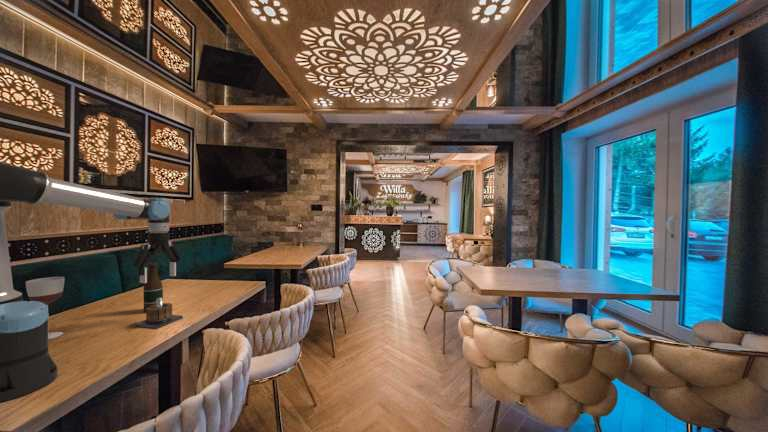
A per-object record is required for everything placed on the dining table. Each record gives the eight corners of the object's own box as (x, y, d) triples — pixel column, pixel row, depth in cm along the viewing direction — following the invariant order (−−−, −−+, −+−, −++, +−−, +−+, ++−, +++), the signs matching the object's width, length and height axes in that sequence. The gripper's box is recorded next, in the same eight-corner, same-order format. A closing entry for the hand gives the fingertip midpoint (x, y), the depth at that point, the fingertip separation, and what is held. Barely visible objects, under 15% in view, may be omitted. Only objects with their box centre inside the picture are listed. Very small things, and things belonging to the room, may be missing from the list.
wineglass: (23, 339, 111) (22, 280, 110) (61, 329, 120) (60, 275, 119) (30, 344, 106) (29, 283, 106) (69, 334, 115) (68, 278, 115)
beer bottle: (146, 308, 145) (145, 262, 145) (165, 306, 148) (164, 261, 148) (140, 313, 138) (140, 265, 138) (160, 311, 141) (160, 263, 141)
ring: (158, 322, 123) (158, 310, 122) (141, 320, 124) (141, 309, 124) (177, 314, 131) (176, 303, 131) (161, 313, 133) (160, 302, 133)
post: (157, 328, 121) (157, 302, 121) (135, 326, 123) (134, 300, 123) (182, 318, 133) (182, 294, 132) (161, 316, 135) (161, 293, 135)
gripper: (136, 234, 114) (136, 286, 114) (189, 230, 139) (189, 273, 139) (121, 233, 116) (121, 285, 116) (177, 230, 140) (177, 273, 140)
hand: (158, 279), depth 127 cm, fingers open, 13 cm apart
